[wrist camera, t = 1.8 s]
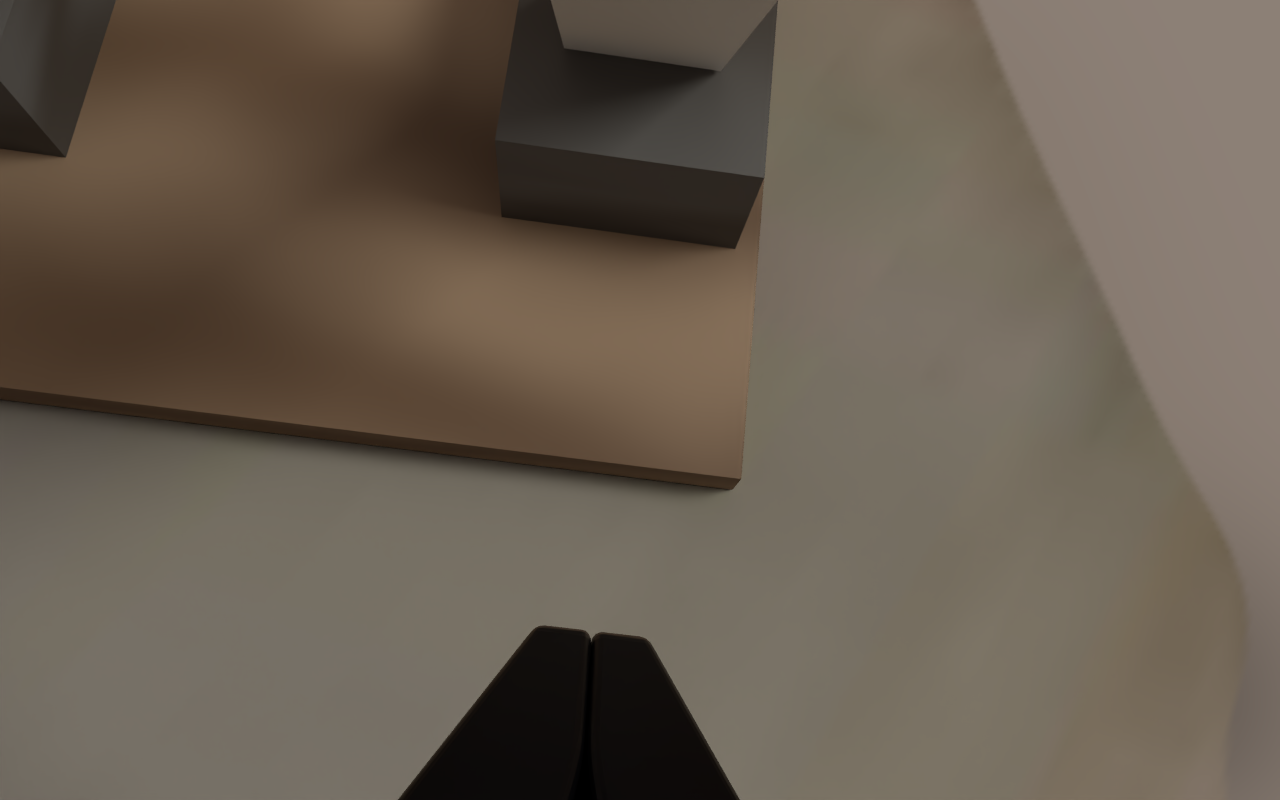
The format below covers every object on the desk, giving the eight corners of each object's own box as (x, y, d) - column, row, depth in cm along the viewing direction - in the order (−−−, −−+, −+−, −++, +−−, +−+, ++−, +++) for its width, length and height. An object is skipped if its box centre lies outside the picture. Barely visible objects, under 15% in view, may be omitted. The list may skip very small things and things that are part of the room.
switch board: (732, 489, 21) (773, 439, 17) (-267, 366, 20) (-458, 284, 16) (774, -55, 25) (815, -191, 21) (-46, -180, 24) (-155, -347, 20)
